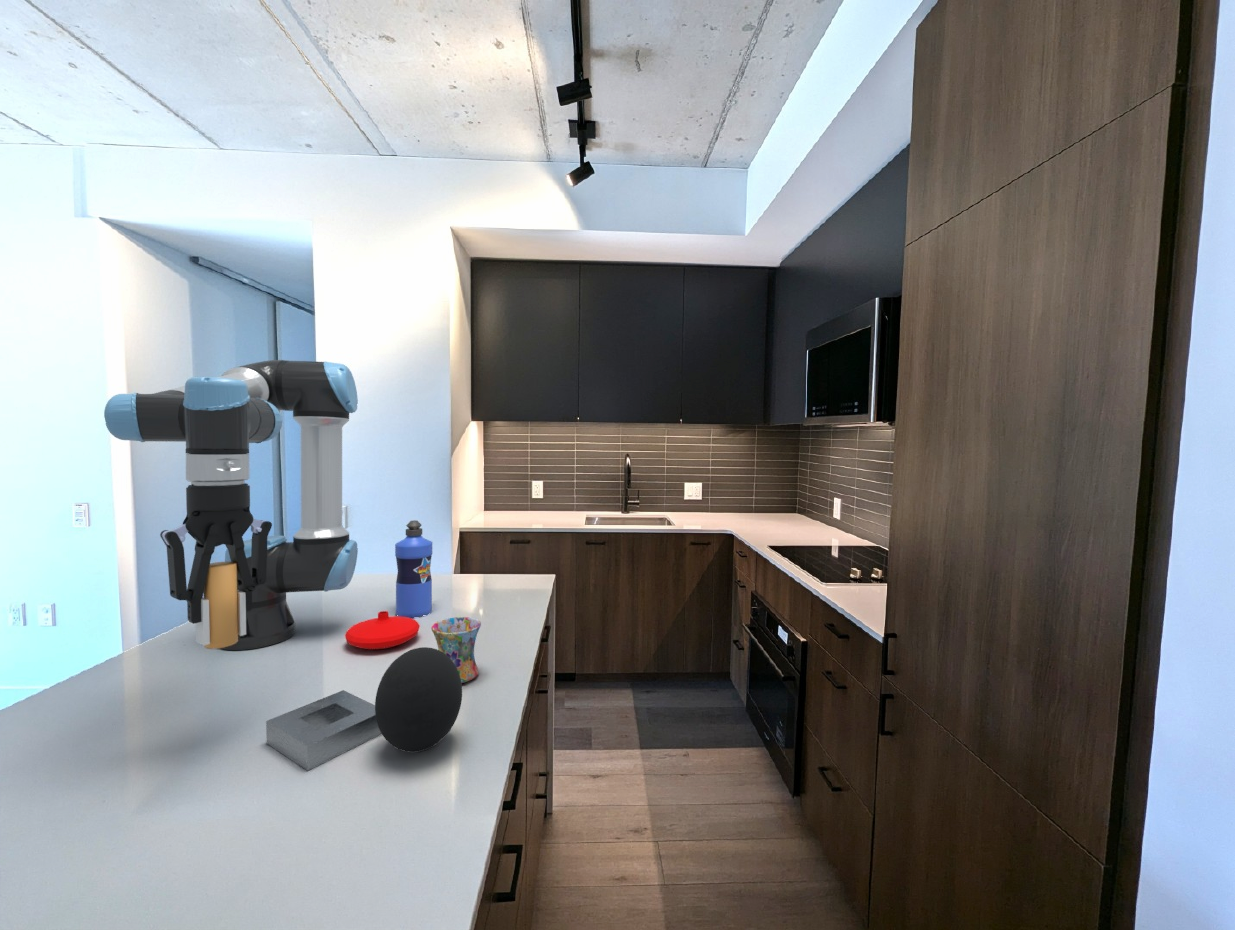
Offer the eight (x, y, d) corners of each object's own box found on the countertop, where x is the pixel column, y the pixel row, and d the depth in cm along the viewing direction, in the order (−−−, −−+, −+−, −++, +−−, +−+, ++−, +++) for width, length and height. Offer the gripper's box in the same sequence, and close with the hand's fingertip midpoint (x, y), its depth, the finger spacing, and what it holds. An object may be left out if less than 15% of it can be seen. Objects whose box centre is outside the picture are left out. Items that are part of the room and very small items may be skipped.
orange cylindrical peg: (199, 644, 78) (198, 565, 77) (231, 636, 81) (229, 560, 81) (211, 650, 76) (209, 569, 75) (242, 642, 79) (241, 563, 78)
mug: (484, 683, 100) (484, 629, 100) (433, 692, 97) (433, 635, 96) (475, 659, 111) (475, 610, 111) (429, 666, 108) (429, 615, 107)
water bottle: (439, 609, 144) (439, 519, 143) (416, 620, 135) (416, 524, 134) (412, 605, 147) (412, 517, 146) (387, 615, 138) (387, 522, 137)
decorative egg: (398, 723, 86) (397, 633, 85) (472, 725, 85) (472, 635, 85) (358, 770, 74) (358, 666, 73) (445, 773, 73) (445, 668, 73)
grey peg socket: (266, 743, 80) (266, 720, 80) (343, 709, 90) (343, 690, 90) (307, 770, 73) (307, 746, 73) (385, 731, 83) (385, 710, 83)
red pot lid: (328, 649, 116) (328, 618, 116) (384, 626, 130) (384, 598, 130) (382, 661, 110) (381, 628, 110) (434, 636, 124) (434, 607, 124)
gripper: (154, 488, 68) (158, 663, 69) (292, 481, 82) (294, 626, 83) (134, 484, 72) (138, 650, 73) (269, 478, 86) (271, 617, 88)
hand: (221, 637), depth 78 cm, fingers closed on orange cylindrical peg, 4 cm apart
